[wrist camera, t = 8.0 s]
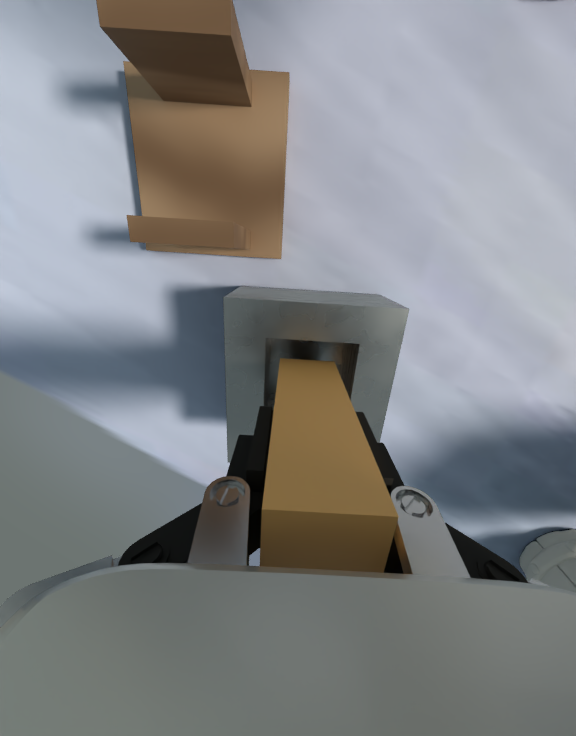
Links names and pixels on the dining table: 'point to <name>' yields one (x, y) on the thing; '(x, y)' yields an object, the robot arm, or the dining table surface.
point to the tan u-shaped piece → (201, 129)
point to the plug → (322, 478)
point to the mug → (552, 560)
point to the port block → (308, 348)
